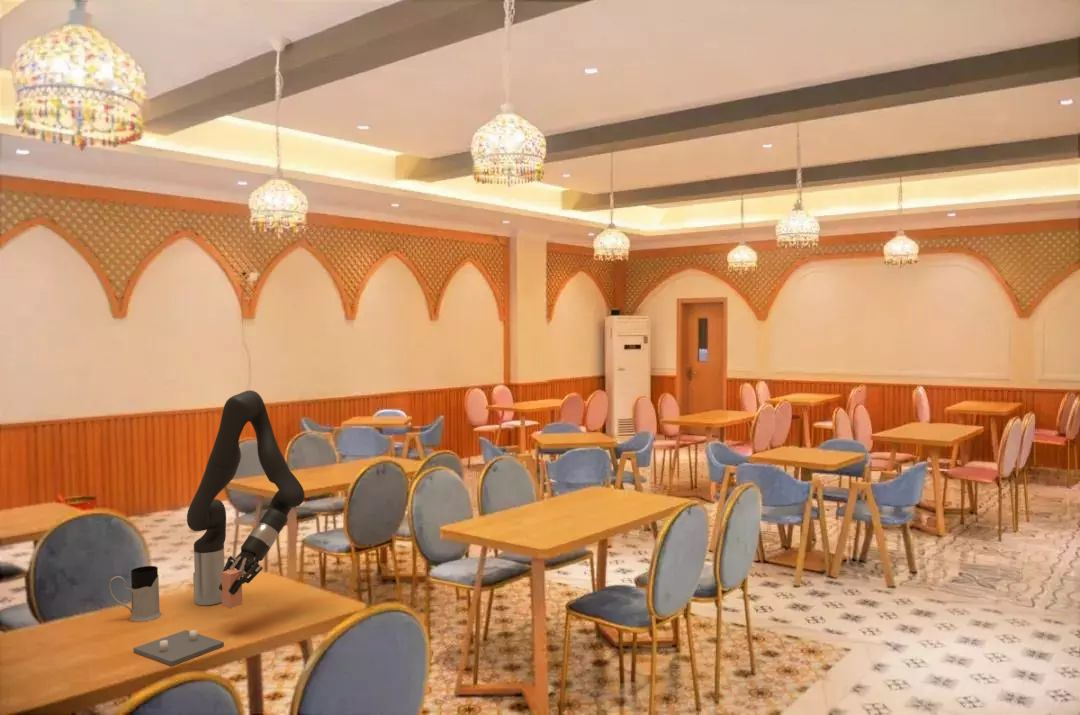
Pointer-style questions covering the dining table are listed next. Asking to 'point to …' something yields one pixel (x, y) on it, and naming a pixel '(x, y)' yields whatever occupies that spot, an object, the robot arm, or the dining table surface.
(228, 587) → the block
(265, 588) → the dining table surface
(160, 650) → the base plate
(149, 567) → the glass holder
